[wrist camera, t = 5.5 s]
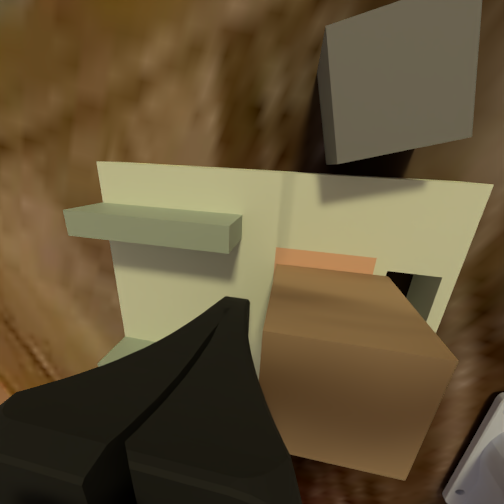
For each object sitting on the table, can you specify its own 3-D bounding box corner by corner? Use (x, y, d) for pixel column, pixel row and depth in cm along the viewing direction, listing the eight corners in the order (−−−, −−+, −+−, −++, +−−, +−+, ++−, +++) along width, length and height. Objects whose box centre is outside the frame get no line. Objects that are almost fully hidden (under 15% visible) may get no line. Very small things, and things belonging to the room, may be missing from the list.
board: (385, 394, 14) (416, 477, 10) (150, 349, 16) (106, 403, 13) (456, 181, 10) (553, 190, 6) (127, 162, 12) (51, 160, 8)
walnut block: (364, 363, 11) (405, 480, 7) (268, 347, 12) (253, 446, 8) (388, 276, 10) (458, 361, 5) (276, 264, 10) (262, 330, 6)
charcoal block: (414, 146, 10) (472, 137, 6) (326, 164, 11) (337, 164, 7) (415, 44, 9) (483, -28, 5) (316, 73, 10) (325, 25, 6)
